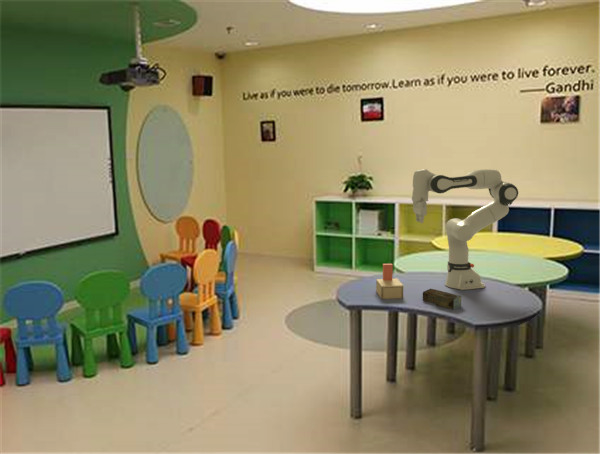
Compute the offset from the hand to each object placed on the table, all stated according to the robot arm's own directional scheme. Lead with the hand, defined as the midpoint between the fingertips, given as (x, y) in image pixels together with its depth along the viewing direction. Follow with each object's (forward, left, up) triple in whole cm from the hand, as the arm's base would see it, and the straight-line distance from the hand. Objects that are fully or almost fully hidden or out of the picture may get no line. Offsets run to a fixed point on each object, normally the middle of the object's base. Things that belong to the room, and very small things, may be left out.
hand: (419, 222), depth 319 cm
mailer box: (+20, +14, -39) cm, 46 cm away
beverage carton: (-4, +31, -39) cm, 50 cm away
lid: (+20, +14, -31) cm, 40 cm away
